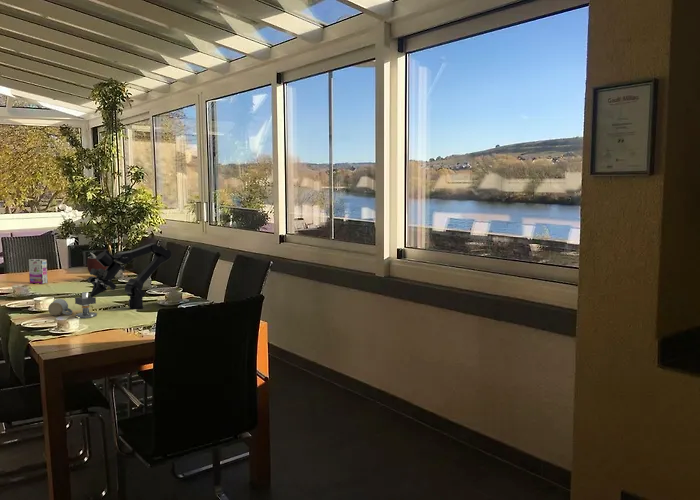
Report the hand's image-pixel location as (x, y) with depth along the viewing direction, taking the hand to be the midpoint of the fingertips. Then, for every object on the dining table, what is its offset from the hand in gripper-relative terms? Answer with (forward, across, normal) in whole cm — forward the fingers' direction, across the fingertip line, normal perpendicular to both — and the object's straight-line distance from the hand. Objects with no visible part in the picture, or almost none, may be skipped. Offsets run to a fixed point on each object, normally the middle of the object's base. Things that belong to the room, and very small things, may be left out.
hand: (91, 296), depth 303 cm
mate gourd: (-36, -105, +50) cm, 122 cm away
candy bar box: (-14, -127, +29) cm, 131 cm away
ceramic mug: (+13, -14, +1) cm, 19 cm away
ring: (+4, 0, 0) cm, 4 cm away
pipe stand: (+9, 0, +5) cm, 10 cm away
